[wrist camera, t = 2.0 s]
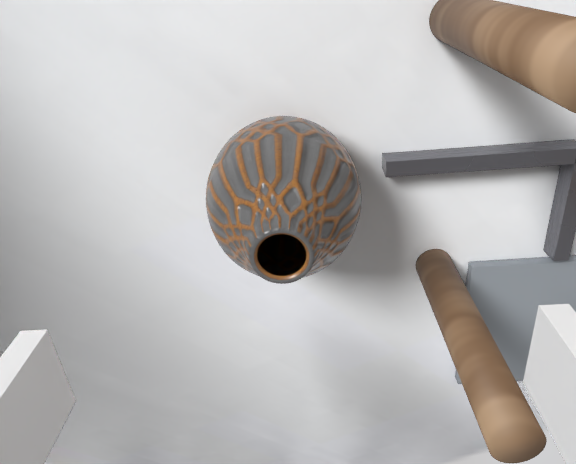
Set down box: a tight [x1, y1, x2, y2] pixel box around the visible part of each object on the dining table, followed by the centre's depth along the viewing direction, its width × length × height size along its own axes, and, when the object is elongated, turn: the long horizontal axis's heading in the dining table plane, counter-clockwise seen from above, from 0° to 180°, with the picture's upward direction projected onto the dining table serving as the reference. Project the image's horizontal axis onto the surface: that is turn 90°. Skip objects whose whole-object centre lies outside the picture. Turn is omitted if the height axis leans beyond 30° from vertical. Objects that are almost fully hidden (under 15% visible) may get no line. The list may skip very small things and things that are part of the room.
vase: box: [206, 116, 361, 284], centre depth 22 cm, size 7×7×9 cm
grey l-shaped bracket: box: [382, 140, 576, 261], centre depth 26 cm, size 10×6×1 cm, turn 95°
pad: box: [455, 255, 576, 384], centre depth 30 cm, size 9×9×1 cm
